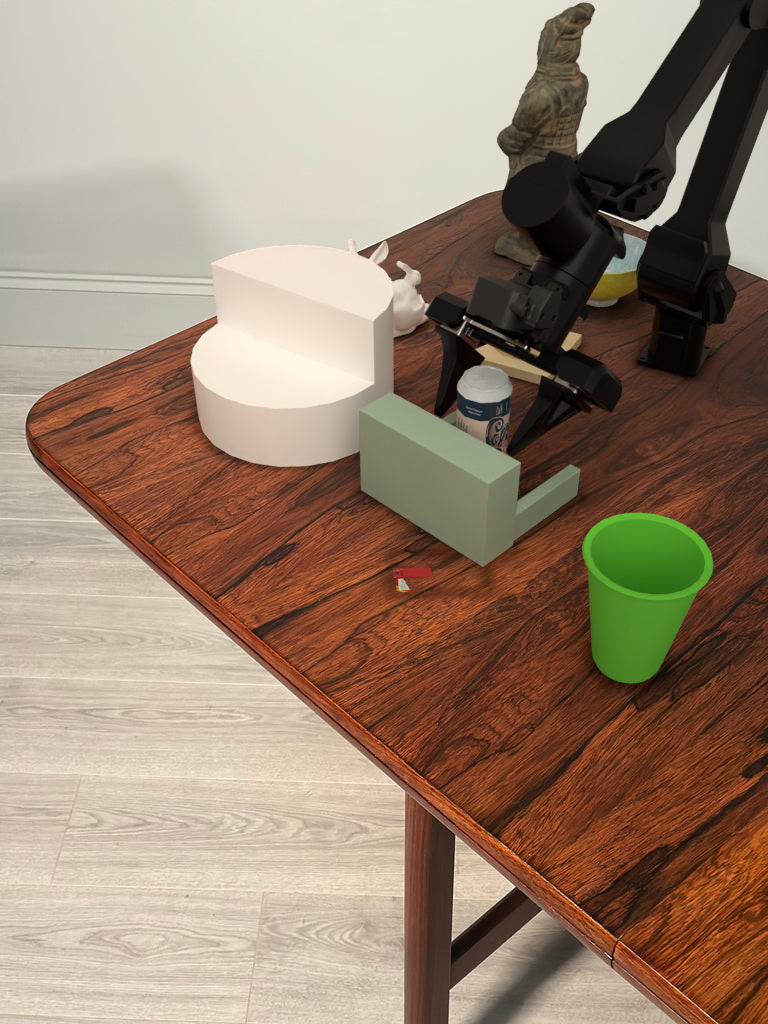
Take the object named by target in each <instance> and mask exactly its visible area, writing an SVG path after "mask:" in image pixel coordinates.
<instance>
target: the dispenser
mask: <svg viewBox="0 0 768 1024" xmlns="http://www.w3.org/2000/svg"><path fill="white" fill-rule="evenodd" d="M456 413H457V409H455V410H454V411H452V412H450V413H449V414H447V415H446V416H443V417H441V418H440V417H438V416H436V415H435V414H434V413H433V414H432V413H431V412H429V411H427V410H425V409H423V408H421V407H420V406H418V405H416V404H414V403H413V402H410V401H409V400H407V399H405V398H403V397H401V396H400V395H398V394H396V393H392V392H390V393H388V394H386V395H384V396H382V397H380V398H379V399H377V400H375V401H373V402H371V403H370V404H368V405H366V406H364V407H362V408H360V409H359V438H360V451H359V467H360V468H359V469H360V471H359V473H360V491H361V492H363V493H365V494H366V495H368V496H370V497H371V498H373V499H374V500H375V501H378V503H380V504H382V505H383V506H385V507H387V508H389V509H390V510H392V511H393V512H395V513H396V514H398V515H400V516H401V517H403V518H405V519H406V520H407V521H409V522H411V524H414V525H415V526H417V527H418V528H420V529H422V530H423V531H425V532H426V533H428V534H429V535H431V536H433V537H434V538H436V539H438V540H439V541H441V542H442V543H444V544H445V545H447V546H449V547H450V548H451V549H453V550H455V551H456V552H459V553H460V554H461V555H463V556H464V557H466V558H468V559H469V560H471V561H472V562H474V563H476V564H477V565H479V566H480V567H482V568H484V567H485V566H487V565H488V564H489V563H491V562H492V561H494V560H495V559H496V558H498V557H499V556H501V555H502V554H503V553H505V552H506V551H507V550H509V549H510V548H511V547H513V546H514V542H515V541H516V540H517V539H519V538H520V537H521V536H523V535H524V534H526V533H527V532H529V531H530V530H532V529H533V528H534V527H535V526H537V525H538V524H539V523H541V522H542V521H544V520H545V519H547V518H548V517H549V516H551V515H552V514H553V513H555V512H556V511H557V510H559V509H560V508H561V507H563V506H564V505H566V504H567V503H568V502H570V501H571V500H572V499H574V498H576V496H578V493H579V485H580V484H579V483H580V477H581V471H582V470H581V469H580V468H579V467H577V466H575V465H573V464H571V463H570V464H568V465H567V466H565V467H564V468H563V469H562V470H560V471H558V472H557V473H556V474H554V475H553V476H551V477H549V478H548V479H547V480H545V481H544V482H543V483H541V484H539V485H538V486H537V487H535V488H534V489H532V490H531V491H530V492H528V493H527V494H525V495H524V496H522V497H521V498H520V499H518V498H519V487H520V486H519V485H520V477H521V476H520V475H521V467H522V463H521V461H519V460H517V459H515V458H513V457H511V456H510V455H508V454H507V455H506V454H504V453H502V452H501V451H499V450H497V449H495V448H493V447H491V446H490V445H488V444H486V443H484V442H482V441H480V440H479V439H477V438H475V437H473V436H471V435H469V434H467V433H466V432H464V431H462V430H460V429H458V428H456Z"/></svg>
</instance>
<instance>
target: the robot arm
mask: <svg viewBox="0 0 768 1024" xmlns="http://www.w3.org/2000/svg"><path fill="white" fill-rule="evenodd" d="M725 71H726V72H725ZM724 73H725V75H724V78H723V81H722V83H721V86H720V90H719V92H718V95H717V98H716V101H715V103H714V106H713V109H712V112H711V115H710V118H709V120H708V124H707V126H706V128H705V132H704V135H703V137H702V140H701V143H700V146H699V149H698V152H697V155H696V158H695V160H694V163H693V166H692V168H691V171H690V174H689V177H688V181H687V183H686V186H685V188H684V192H683V195H682V197H681V200H680V203H679V206H678V208H677V210H676V212H675V213H673V214H672V215H671V216H670V217H669V218H668V219H667V220H665V221H664V223H662V224H655V225H654V226H653V227H652V228H651V229H650V230H649V231H648V235H647V239H646V242H647V243H646V246H645V249H644V251H643V254H642V255H641V257H640V259H639V261H638V264H637V269H636V277H637V288H636V289H637V298H638V302H641V303H646V304H648V305H650V306H653V307H655V308H654V315H653V321H652V326H651V331H650V338H649V340H648V342H647V343H646V345H645V346H644V348H643V349H642V351H641V352H640V354H639V355H638V356H637V360H636V363H637V364H639V365H644V366H646V367H647V366H648V367H650V368H654V369H658V370H663V371H666V372H669V373H674V374H678V375H682V376H685V377H689V378H696V377H697V376H698V374H699V373H700V370H701V369H702V367H703V366H704V364H705V362H706V361H707V359H708V357H709V356H710V354H711V352H712V347H711V346H710V345H706V344H705V343H706V338H707V334H708V329H709V328H710V327H711V326H713V325H723V324H725V323H726V322H727V317H728V315H729V314H730V313H731V311H732V309H733V307H734V305H735V300H736V298H737V295H738V292H736V290H735V288H734V287H733V284H732V283H731V281H730V279H729V278H728V276H727V275H726V274H727V270H728V267H729V264H730V260H731V256H732V251H731V246H730V240H729V236H728V230H727V221H728V218H729V215H730V212H731V210H732V208H733V205H734V202H735V199H736V196H737V193H738V191H739V188H740V185H741V182H742V180H743V177H744V176H745V175H744V174H745V172H746V169H747V167H748V165H749V162H750V159H751V157H752V154H753V151H754V148H755V146H756V142H757V140H758V138H759V135H760V132H761V130H762V126H763V124H764V122H765V119H766V116H767V113H768V0H699V5H698V6H697V8H696V10H695V11H694V13H693V15H692V16H691V18H690V19H689V21H688V22H687V23H686V25H685V26H684V29H682V31H681V33H680V34H679V36H678V37H677V38H676V41H675V42H674V44H673V45H672V47H671V48H670V50H669V51H668V52H667V54H666V56H665V58H664V59H663V60H662V62H661V63H660V65H659V67H658V68H657V69H656V71H655V73H654V75H653V76H652V77H651V79H650V80H649V82H648V84H647V85H646V87H645V88H644V90H643V91H642V92H641V94H640V96H639V98H638V99H637V101H636V102H635V103H634V104H633V105H632V107H631V108H630V109H629V110H628V111H627V112H625V113H623V114H621V115H619V116H618V117H616V118H614V119H612V120H610V121H608V122H607V123H605V124H604V125H603V126H602V127H601V128H600V129H599V131H598V132H597V133H596V135H595V136H594V137H593V138H592V139H591V141H590V142H589V143H588V144H587V145H586V146H585V148H584V149H583V150H582V151H581V152H580V153H578V155H577V156H575V157H574V158H572V157H571V155H568V154H565V153H562V152H558V151H555V150H550V151H549V153H548V154H547V156H546V158H545V160H544V161H542V162H537V163H533V164H531V165H528V166H526V167H524V168H523V169H522V170H520V171H519V172H518V173H517V174H516V175H515V176H514V177H511V178H510V179H509V181H508V182H507V181H506V182H507V184H506V183H505V185H504V188H503V190H502V192H501V193H502V194H501V198H500V203H501V204H500V205H501V207H500V208H501V211H502V213H503V215H504V217H505V218H506V220H507V221H508V222H509V224H511V226H512V227H513V228H514V229H516V230H517V231H518V232H519V233H520V235H521V236H522V237H523V238H524V239H525V240H526V241H527V242H528V244H529V245H530V246H531V247H532V248H533V249H534V250H535V251H536V252H537V253H539V255H538V257H537V259H536V260H535V262H534V264H533V266H531V267H530V269H529V268H527V267H525V266H521V268H520V269H519V270H517V272H516V273H515V274H514V276H513V278H511V280H508V279H505V278H502V277H495V276H488V275H483V274H478V275H477V277H476V281H475V283H474V287H473V289H472V292H471V295H470V297H469V301H468V300H465V299H464V298H461V297H460V296H457V295H454V294H452V293H450V292H448V291H446V290H445V291H442V292H441V293H439V294H437V295H435V296H434V297H433V298H432V299H431V301H430V303H428V304H429V306H428V307H427V309H426V311H425V313H424V315H425V316H427V317H428V318H429V319H428V320H430V321H431V322H433V324H434V327H433V331H434V332H435V333H436V334H437V335H438V336H440V337H439V338H440V341H441V346H442V362H441V371H440V377H439V381H438V387H437V392H436V396H435V402H434V407H433V415H434V416H436V417H438V418H440V419H442V418H444V417H445V415H446V414H447V413H448V411H449V410H450V409H451V408H452V407H453V406H454V404H455V403H456V402H457V385H458V382H459V380H460V379H461V377H462V376H463V374H464V373H465V371H466V370H468V369H470V368H472V367H474V366H480V365H481V364H482V362H483V361H484V359H485V357H484V356H483V355H481V354H480V353H479V352H478V351H477V350H475V349H477V348H479V347H482V346H484V345H487V344H488V345H490V346H492V347H495V348H497V349H499V350H501V351H503V352H505V353H507V354H509V355H511V356H513V357H516V358H518V359H520V360H522V361H524V362H526V363H528V364H530V365H532V366H535V367H537V368H539V369H541V370H543V371H545V372H547V373H549V374H551V375H553V376H555V377H554V379H549V378H547V377H545V376H543V375H542V376H541V380H540V385H539V384H538V385H539V387H538V389H537V395H536V397H535V399H534V401H533V402H532V404H531V406H530V407H529V409H528V410H527V412H526V413H525V416H524V417H523V419H522V420H521V422H520V423H519V425H518V426H517V428H516V430H515V432H514V433H513V434H512V437H511V439H510V441H509V443H508V445H507V449H506V453H507V455H508V456H510V457H512V458H513V457H516V456H518V454H520V453H521V452H522V451H523V450H526V448H528V447H529V446H530V445H531V444H533V443H534V442H536V441H537V440H539V439H540V438H541V437H542V436H544V435H546V434H547V433H548V432H550V431H551V430H553V429H554V428H555V427H557V426H560V425H561V424H563V423H564V422H566V421H568V420H569V419H571V418H573V417H574V416H576V415H578V414H579V413H582V412H583V413H585V414H587V415H590V414H591V413H592V412H593V407H591V405H592V406H594V407H596V408H598V409H601V410H603V411H605V412H607V413H610V414H612V413H613V412H614V409H615V408H616V406H617V405H618V403H619V401H620V400H621V398H622V396H623V395H622V394H623V389H624V388H623V381H622V380H621V379H620V378H619V377H618V375H617V374H615V372H614V371H612V370H611V368H610V367H609V366H608V365H607V364H606V363H605V362H603V361H601V360H599V359H596V358H594V357H592V356H590V355H587V354H585V353H583V352H582V351H581V352H580V351H579V350H577V349H576V350H574V349H572V348H571V349H569V350H568V351H565V350H564V349H563V348H562V347H561V346H562V344H563V343H564V341H565V339H566V337H567V336H568V334H569V332H572V329H573V327H574V325H575V324H576V322H577V320H581V321H583V322H585V321H586V320H587V317H588V316H589V314H590V313H591V310H590V309H589V308H588V307H587V306H586V305H587V304H586V303H587V301H588V300H589V298H590V296H591V294H592V293H593V291H594V289H595V287H596V286H597V284H598V282H599V281H600V279H601V277H602V275H603V274H604V272H605V270H606V269H607V267H608V265H609V263H610V262H611V260H612V258H613V257H615V258H618V259H621V260H622V259H624V258H625V256H626V245H625V242H624V233H625V228H624V227H622V226H619V225H617V224H614V223H612V222H610V221H609V220H608V219H607V218H606V217H605V216H603V215H601V214H600V213H599V211H600V212H604V213H606V214H609V215H612V216H615V217H618V218H620V219H623V220H626V221H629V222H633V223H637V222H639V221H642V220H643V221H646V220H647V219H649V218H650V217H652V215H653V214H654V213H655V212H657V210H658V209H659V208H660V206H662V204H663V202H664V201H665V199H666V196H667V193H668V189H669V187H670V185H671V183H672V181H673V179H674V177H675V176H676V173H677V147H678V146H679V144H680V142H681V140H682V139H683V136H684V134H685V133H686V131H687V130H688V128H689V127H690V125H691V124H692V122H693V120H694V119H695V118H696V116H697V115H698V113H699V112H700V110H701V108H702V107H703V105H704V103H705V102H706V101H707V99H708V98H709V96H710V94H711V93H712V91H713V90H714V88H715V86H716V84H717V83H719V80H720V79H721V77H722V76H723V74H724ZM516 340H517V341H516ZM506 342H507V343H510V344H513V345H514V347H513V346H511V345H509V344H507V343H506ZM530 348H532V349H534V350H536V351H538V352H540V354H539V356H537V355H534V354H533V353H530V351H531V349H530Z"/></svg>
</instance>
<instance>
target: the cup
mask: <svg viewBox="0 0 768 1024" xmlns="http://www.w3.org/2000/svg"><path fill="white" fill-rule="evenodd" d="M581 545H582V546H581V551H582V558H583V560H584V563H585V565H586V567H587V577H588V578H587V579H588V580H587V581H588V601H589V620H590V621H589V623H590V624H589V625H590V640H591V641H590V642H591V654H592V655H591V656H592V659H593V662H594V664H595V666H596V667H597V668H598V670H599V671H600V672H601V673H602V674H603V675H604V676H606V677H608V678H609V679H611V680H613V681H616V682H619V683H622V684H623V683H625V684H638V683H644V682H645V681H647V680H649V679H651V678H652V677H653V676H654V675H656V674H657V673H658V671H659V670H660V668H661V667H662V664H663V663H664V660H665V658H666V657H667V655H668V652H669V651H670V648H671V647H672V645H673V642H674V641H675V638H676V637H677V634H678V632H679V631H680V630H681V629H680V628H681V626H682V625H683V623H684V620H685V618H686V617H687V615H688V612H689V610H690V608H691V606H692V604H693V603H694V601H695V599H696V597H697V594H698V592H699V591H700V590H701V589H702V588H703V587H705V586H706V585H707V583H708V582H709V580H710V578H712V575H713V571H714V570H713V569H714V561H713V560H714V559H713V554H712V551H711V550H710V548H709V546H708V545H707V543H706V542H705V540H704V539H703V538H702V537H701V536H700V535H699V534H698V533H697V532H696V531H694V530H693V529H691V528H690V527H688V526H687V525H686V524H684V523H682V522H679V521H677V520H676V519H672V518H670V517H668V516H667V517H666V516H663V515H661V514H657V513H655V514H654V513H647V512H624V513H621V514H615V515H614V514H613V515H611V516H609V517H606V518H604V519H602V520H600V521H599V522H598V523H596V524H595V525H593V526H592V527H591V528H590V530H589V531H588V532H587V533H586V535H585V536H584V539H583V542H582V544H581Z"/></svg>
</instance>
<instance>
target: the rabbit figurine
mask: <svg viewBox="0 0 768 1024" xmlns="http://www.w3.org/2000/svg"><path fill="white" fill-rule="evenodd" d="M346 247H347V251H349V252H353V253H355V254H357V255H359V253H358V250H357V245H356V240H355V239H354V238H350V239H348V241H347V246H346ZM389 252H390V250H389V244H388V242H387V241H386V240H384V241H382V242H381V244H379V246H378V247H377V248H376V249H375V250H374V252H372V254H371V255H370V257H369V258H368V259H369V260H371V261H373V262H374V263H375V264H377V265H378V266H379V265H380V264H381V263H383V262H384V261H385V260H386V259H387V257H388V255H389ZM395 263H396V266H397V267H398V268H399V269H401V270H402V271H404V272H405V273H406V274H405V276H404V278H399V279H395V280H393V281H392V278H391V277H389V278H390V279H391V281H392V284H393V339H394V338H397V337H401V336H403V335H407V334H408V335H409V334H410V333H413V332H414V331H415V329H416V328H417V327H418V326H420V325H422V324H424V323H425V322H427V321H428V320H430V319H429V318H428V317H427V316H425V315H424V313H425V311H426V309H427V307H428V306H429V304H430V303H427V302H426V303H425V301H424V298H423V297H422V294H419V293H418V290H417V288H416V286H417V285H420V284H421V282H422V276H421V273H420V271H418V270H417V269H412V268H411V267H410V266H409V265H408V264H407V263H404V262H403V261H400V260H398V261H397V262H395Z"/></svg>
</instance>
